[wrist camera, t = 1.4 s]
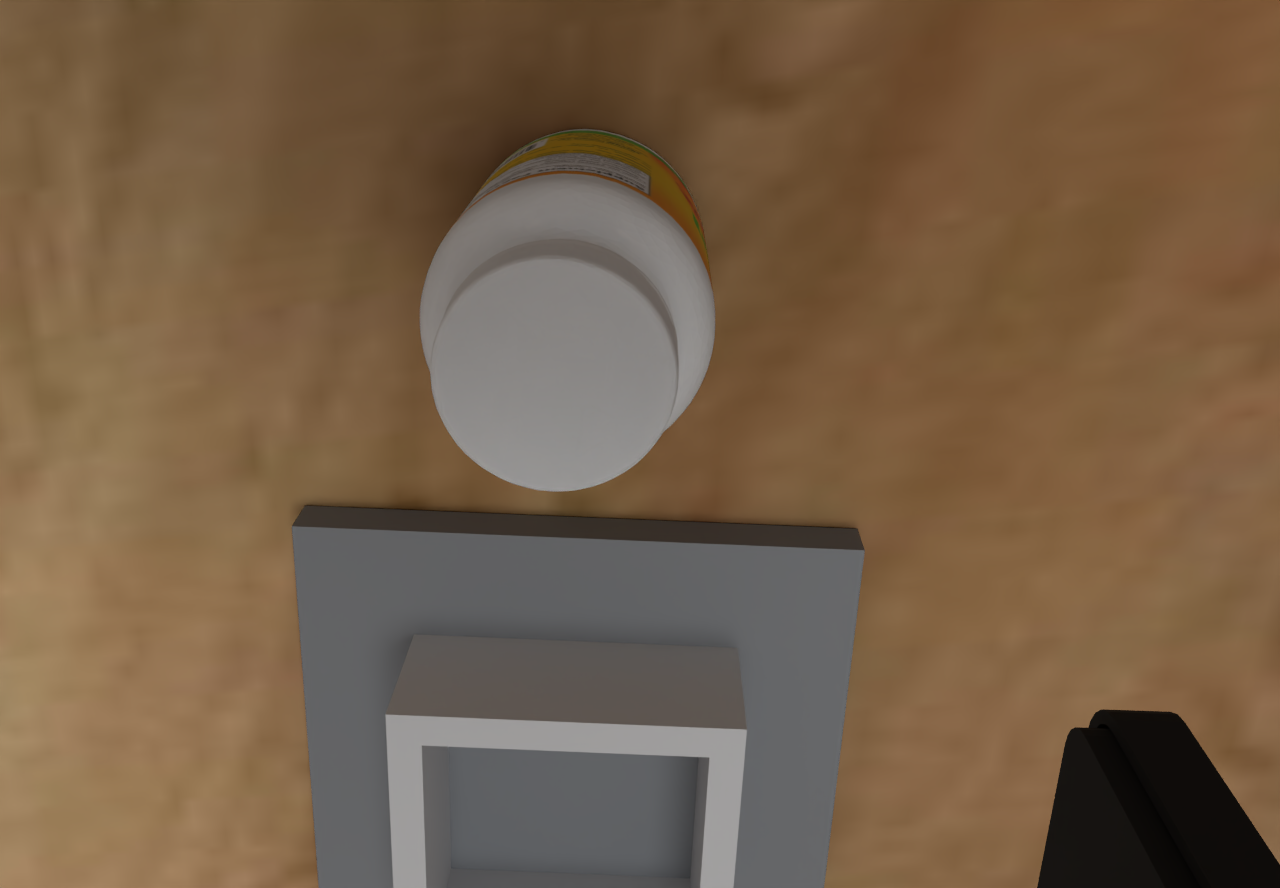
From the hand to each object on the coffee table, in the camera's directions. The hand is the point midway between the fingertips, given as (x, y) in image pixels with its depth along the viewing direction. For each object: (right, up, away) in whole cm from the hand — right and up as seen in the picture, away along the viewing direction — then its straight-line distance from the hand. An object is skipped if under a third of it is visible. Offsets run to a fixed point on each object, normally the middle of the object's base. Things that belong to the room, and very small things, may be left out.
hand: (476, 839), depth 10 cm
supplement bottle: (0, +8, +19) cm, 21 cm away
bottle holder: (0, -5, +24) cm, 24 cm away
